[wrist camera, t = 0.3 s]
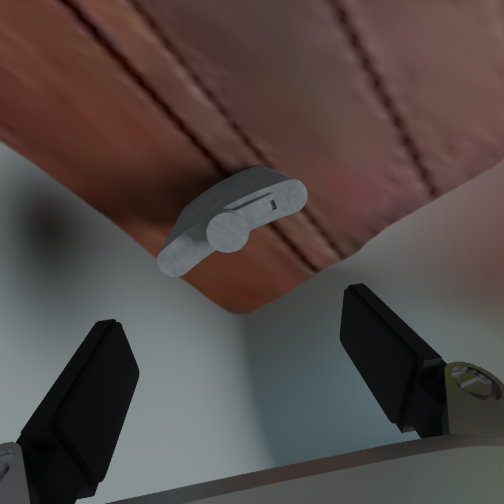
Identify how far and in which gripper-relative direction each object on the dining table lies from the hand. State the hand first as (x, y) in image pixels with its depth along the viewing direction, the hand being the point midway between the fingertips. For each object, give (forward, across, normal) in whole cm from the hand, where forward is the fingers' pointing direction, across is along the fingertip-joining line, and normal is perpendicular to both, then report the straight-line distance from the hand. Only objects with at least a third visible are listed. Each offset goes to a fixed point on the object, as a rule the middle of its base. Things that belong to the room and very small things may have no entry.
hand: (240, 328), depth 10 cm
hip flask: (+31, 0, 0) cm, 31 cm away
